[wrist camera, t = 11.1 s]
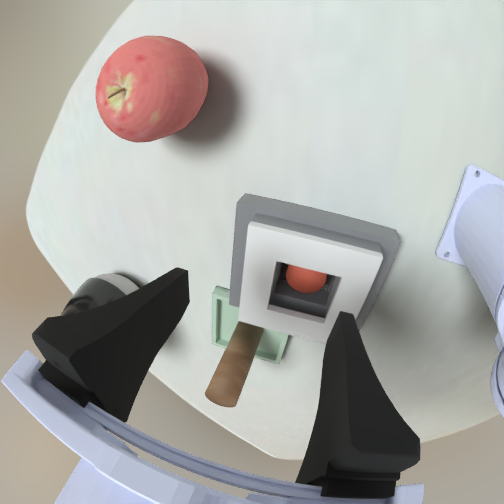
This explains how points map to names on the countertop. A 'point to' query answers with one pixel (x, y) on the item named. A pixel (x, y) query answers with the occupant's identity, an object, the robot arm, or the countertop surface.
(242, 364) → the brown wooden cylinder
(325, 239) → the box
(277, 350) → the rest tray
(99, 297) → the pump dispenser
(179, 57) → the apple
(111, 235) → the countertop surface
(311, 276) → the button
